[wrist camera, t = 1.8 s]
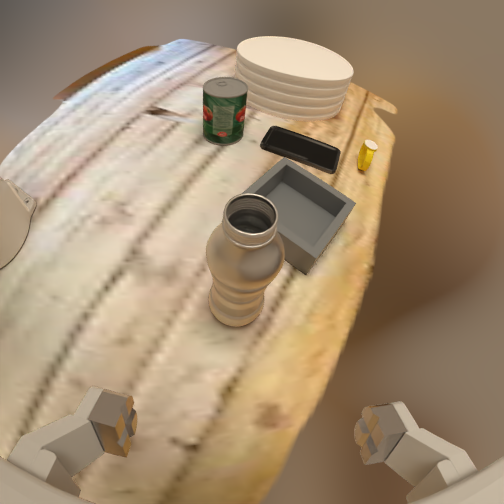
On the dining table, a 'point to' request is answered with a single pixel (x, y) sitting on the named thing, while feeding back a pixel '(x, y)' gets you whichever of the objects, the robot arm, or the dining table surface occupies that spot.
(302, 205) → the tray
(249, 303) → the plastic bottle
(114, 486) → the dining table surface
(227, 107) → the canned tomato
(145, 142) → the dining table surface
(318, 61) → the plate stack
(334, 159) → the phone
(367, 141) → the watch
